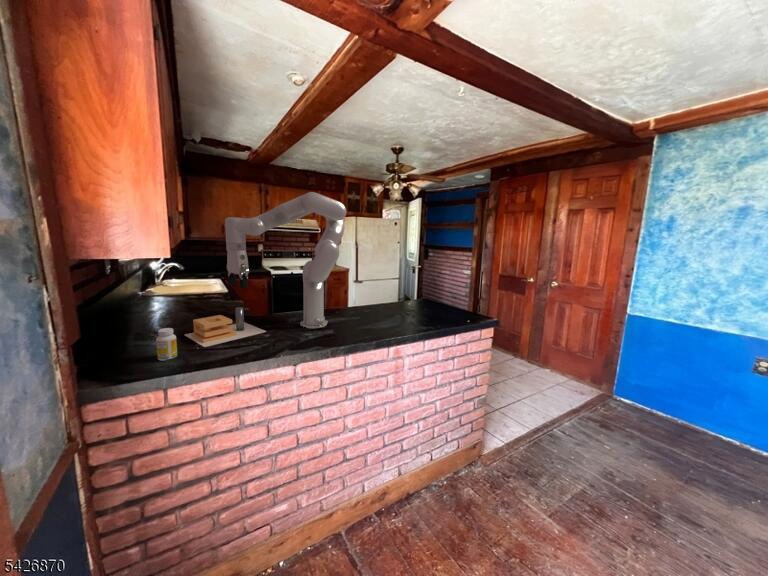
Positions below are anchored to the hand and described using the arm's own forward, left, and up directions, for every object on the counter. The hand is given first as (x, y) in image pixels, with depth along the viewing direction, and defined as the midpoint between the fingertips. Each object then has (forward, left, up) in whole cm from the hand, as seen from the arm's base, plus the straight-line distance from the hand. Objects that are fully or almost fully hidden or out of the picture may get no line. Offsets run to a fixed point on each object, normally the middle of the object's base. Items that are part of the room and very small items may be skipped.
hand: (238, 286), depth 135 cm
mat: (0, +6, -20) cm, 21 cm away
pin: (0, 0, -20) cm, 20 cm away
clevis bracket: (0, +11, -20) cm, 22 cm away
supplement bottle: (-10, +31, -20) cm, 39 cm away
